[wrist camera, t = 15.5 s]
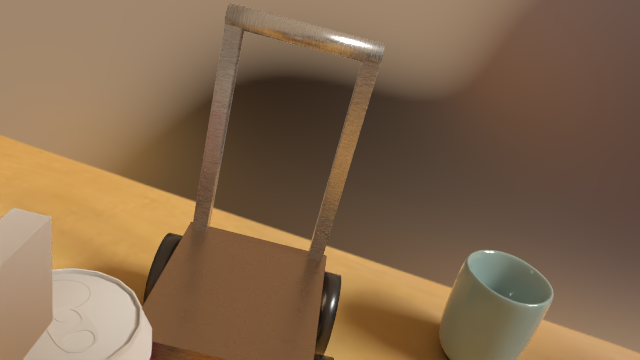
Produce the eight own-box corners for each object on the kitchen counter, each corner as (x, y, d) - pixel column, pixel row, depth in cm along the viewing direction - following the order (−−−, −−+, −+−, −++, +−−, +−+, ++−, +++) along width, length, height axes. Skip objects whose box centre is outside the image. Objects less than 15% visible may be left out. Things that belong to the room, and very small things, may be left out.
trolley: (324, 318, 52) (411, 45, 40) (305, 485, 37) (436, 126, 25) (167, 279, 52) (208, -9, 40) (83, 433, 37) (109, 41, 25)
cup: (525, 378, 52) (572, 297, 47) (469, 400, 47) (514, 313, 43) (468, 321, 57) (505, 244, 53) (413, 337, 53) (448, 254, 48)
